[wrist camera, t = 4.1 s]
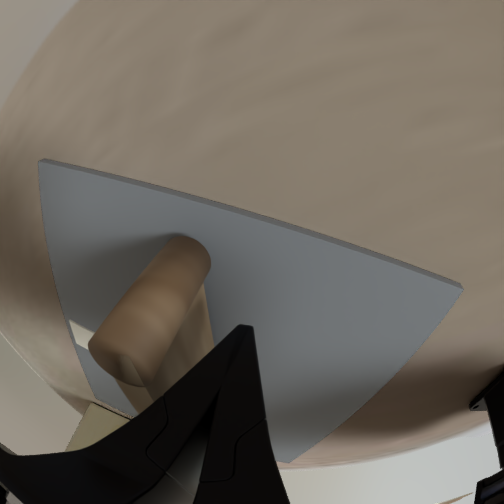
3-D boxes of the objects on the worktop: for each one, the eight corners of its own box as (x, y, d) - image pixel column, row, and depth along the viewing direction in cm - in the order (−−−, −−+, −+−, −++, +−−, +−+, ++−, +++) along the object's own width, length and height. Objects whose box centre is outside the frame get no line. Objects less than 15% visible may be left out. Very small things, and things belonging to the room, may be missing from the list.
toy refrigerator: (163, 450, 27) (112, 583, 9) (109, 428, 27) (53, 551, 9) (154, 428, 22) (88, 593, 5) (91, 400, 23) (18, 548, 5)
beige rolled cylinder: (207, 237, 9) (138, 347, 5) (230, 389, 14) (206, 469, 10) (159, 234, 10) (77, 330, 6) (197, 383, 14) (169, 459, 10)
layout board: (460, 283, 9) (464, 291, 9) (289, 459, 21) (288, 464, 20) (44, 158, 10) (36, 161, 9) (97, 395, 21) (95, 399, 21)
